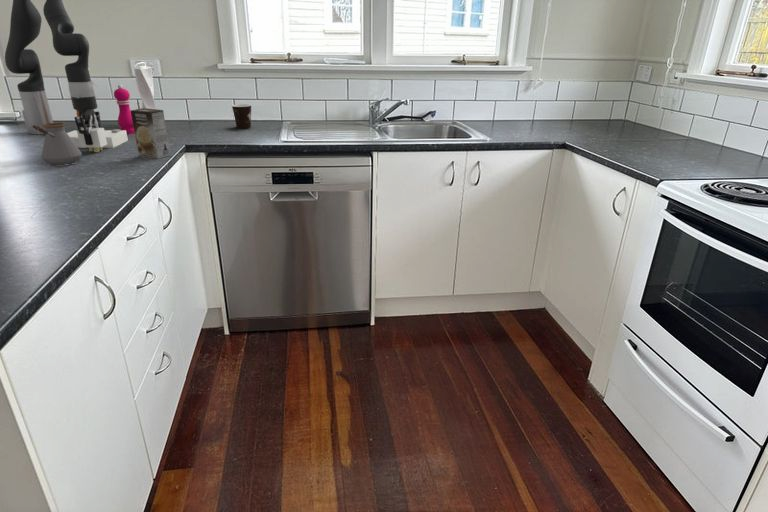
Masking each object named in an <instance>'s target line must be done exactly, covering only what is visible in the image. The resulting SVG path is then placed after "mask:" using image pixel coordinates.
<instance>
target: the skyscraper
mask: <svg viewBox="0 0 768 512" xmlns="http://www.w3.org/2000/svg"><path fill="white" fill-rule="evenodd" d="M141 64H144V65H141ZM138 65H140V66H138ZM137 66H138V67H137ZM133 70H134V77H135V80H136V86H137V89H138V93H139V96H140V98H141V106H142V107H140V103H139V99H138V98H137V99H136V102H137V103H136V104H137V109H141V108H148V109H157V105H156V102H155V98H154V97H155V95H154V94H155V91H154V90H155V86H154V78H153V71H152V67H151V66H147V62H146V61H145V62H144V61H141V62H137V63H135V65H134V67H133ZM157 110H158V109H157Z"/></svg>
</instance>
